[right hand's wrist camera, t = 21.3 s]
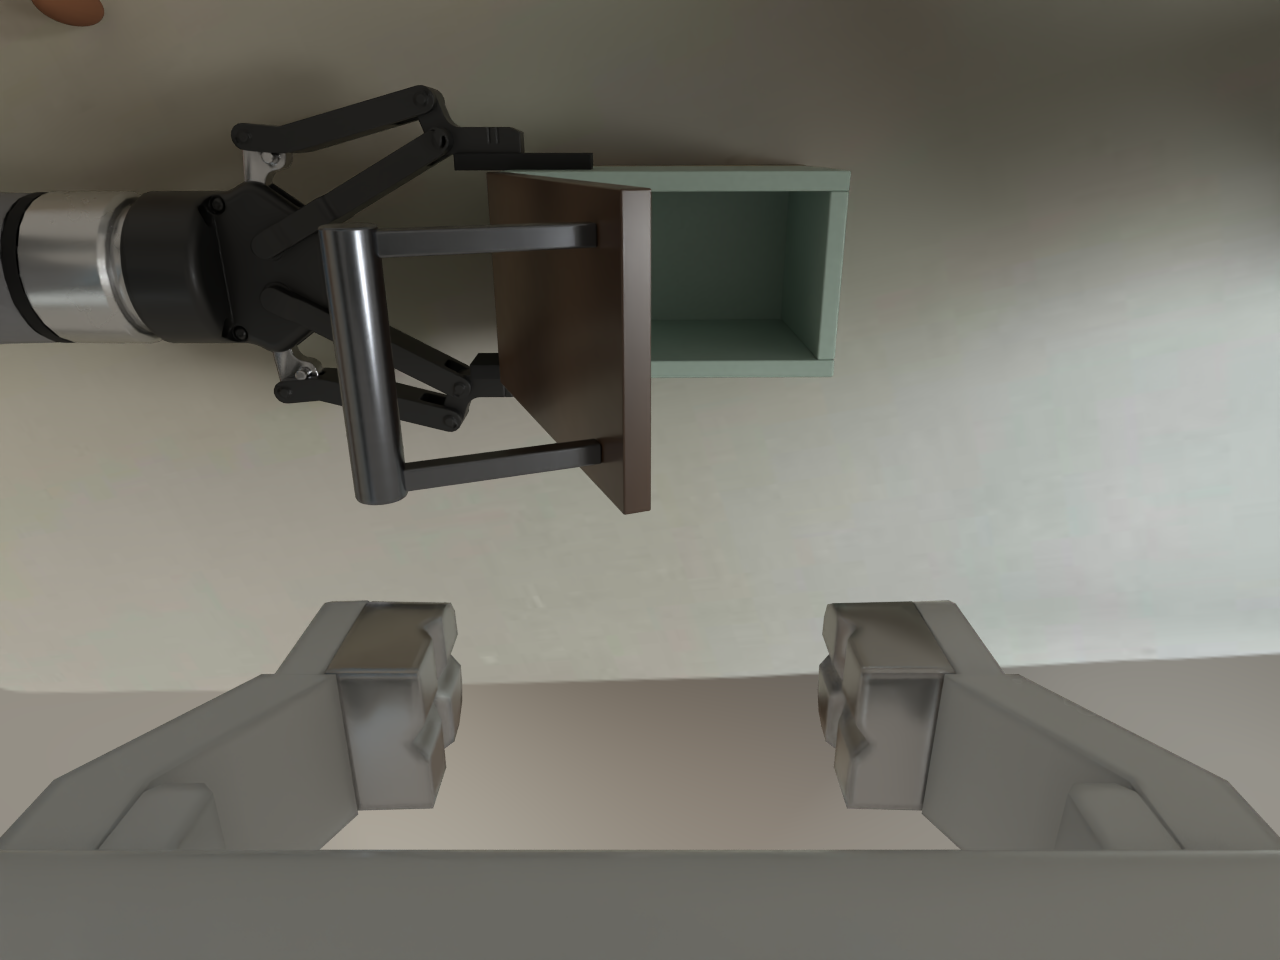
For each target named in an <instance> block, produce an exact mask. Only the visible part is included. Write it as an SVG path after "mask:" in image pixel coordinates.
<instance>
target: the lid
mask: <svg viewBox="0 0 1280 960" xmlns="http://www.w3.org/2000/svg"><path fill="white" fill-rule="evenodd" d="M487 188H488V203H489V218H490V225H473V226H445V227H417V228H389V229H378V227H377V225H375V224H372V223H335V224H325V225H321V226H319V227H318V236H319V243H320V250H321V257H322V264H323V271H324V278H325V285H326V293H327V300H328V307H329V314H330V321H331V328H332V335H333V342H334V349H335V356H336V363H337V370H338V377H339V385H340V392H341V399H342V406H343V413H344V420H345V427H346V434H347V441H348V448H349V455H350V462H351V470H352V477H353V484H354V491H355V497H356V499H357V501H359V502H360V503H363V504H367V505H384V504H389V503H393V502H397V501H399V500H401V499H403V498H404V497H406V495H407V493H408V491H413V490H420V489H427V488H434V487H441V486H448V485H455V484H462V483H469V482H476V481H483V480H490V479H497V478H504V477H511V476H518V475H525V474H532V473H540V472H547V471H554V470H561V469H568V468H575V467H580V468H581V469H582V470H583V471H584V472H585V473H586V474H587V475H588V477H589V478H590V479H591V480H592V481H593V482H594V483H595V484H596V485H597V486H598V487H599V488H600V489H601V490H602V492H603V493H604V494H605V495H606V496H607V497H608V498H609V499H610V500H611V501H612V502H613V503H614V504H615V505H616V506H617V508H618V509H619V510H620V511H621V512H622V513H623V514H625V515H626V514H632V513H638V512H644V511H650V509H651V188H645V187H636V186H628V185H619V184H610V183H601V182H592V181H583V180H574V179H565V178H556V177H547V176H538V175H529V174H520V173H511V172H487ZM472 253H492V263H493V278H494V293H495V308H496V323H497V338H498V353H499V368H500V382H501V383H502V385H503V386H504V387H505V388H506V389H507V390H508V391H509V392H510V393H511V394H512V395H513V396H514V397H515V398H516V400H517V401H518V402H519V403H520V404H521V405H522V406H523V407H524V408H525V409H526V410H527V411H528V412H529V413H530V414H531V416H532V417H533V418H534V419H535V420H536V421H537V422H538V423H539V424H540V425H541V426H542V427H543V428H544V429H545V431H546V432H547V433H548V434H549V435H550V436H551V437H552V438H553V439H554V440H555V441H556V442H557V443H555V444H547V445H540V446H532V447H524V448H517V449H509V450H501V451H494V452H486V453H478V454H471V455H463V456H455V457H448V458H440V459H432V460H425V461H417V462H410V463H405V459H404V450H403V442H402V433H401V424H400V416H399V407H398V398H397V390H396V381H395V372H394V364H393V355H392V346H391V338H390V329H389V320H388V311H387V303H386V294H385V285H384V277H383V268H382V259H381V258H387V257H408V256H429V255H451V254H472Z"/></svg>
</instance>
